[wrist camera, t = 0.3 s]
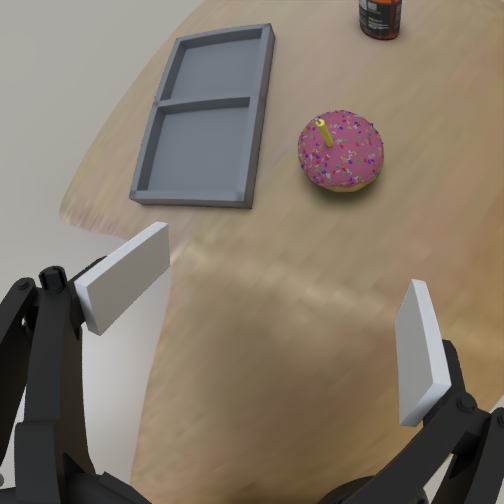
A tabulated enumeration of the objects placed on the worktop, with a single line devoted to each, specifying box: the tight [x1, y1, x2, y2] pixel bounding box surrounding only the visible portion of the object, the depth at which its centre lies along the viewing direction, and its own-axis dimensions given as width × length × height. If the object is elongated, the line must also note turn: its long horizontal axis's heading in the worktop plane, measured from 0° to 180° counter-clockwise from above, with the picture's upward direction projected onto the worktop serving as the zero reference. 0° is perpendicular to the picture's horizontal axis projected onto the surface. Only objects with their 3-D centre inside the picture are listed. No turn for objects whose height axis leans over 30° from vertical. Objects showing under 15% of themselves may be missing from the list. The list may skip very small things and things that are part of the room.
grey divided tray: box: [129, 23, 275, 209], centre depth 36 cm, size 27×15×3 cm, turn 172°
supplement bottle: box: [359, 0, 402, 39], centre depth 27 cm, size 6×6×11 cm
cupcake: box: [298, 110, 384, 192], centre depth 26 cm, size 9×8×12 cm
